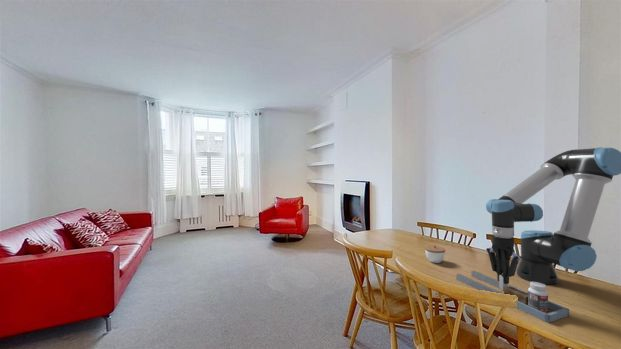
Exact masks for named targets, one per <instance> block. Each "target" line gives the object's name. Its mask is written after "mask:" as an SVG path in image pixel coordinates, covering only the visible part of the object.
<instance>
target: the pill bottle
mask: <svg viewBox="0 0 621 349" xmlns="http://www.w3.org/2000/svg"><path fill="white" fill-rule="evenodd" d="M527 292H528V306H530V307H532V308H535V309H537V310H539V311H541V312H544V313H546V314H548V313H549V312H548V311H549V308H548V301H549V292H547V284H542V283H539V282H532V281H529V287H528V289H527Z"/></svg>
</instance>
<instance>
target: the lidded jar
mask: <svg viewBox="0 0 621 349" xmlns="http://www.w3.org/2000/svg"><path fill="white" fill-rule="evenodd" d="M424 249H425V250H424V251H425V256H426V259H427V260H428V261H429V262H430V263H433V264H440V263H441V262H442V261H443V260H444V259H445V257H446V249H445V248H444V247H442V246H439V245H435V244H434V245H425V247H424Z"/></svg>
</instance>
